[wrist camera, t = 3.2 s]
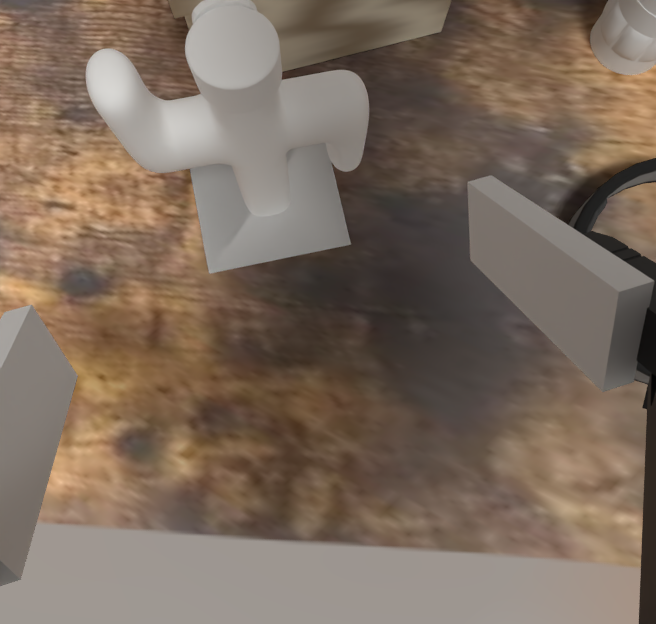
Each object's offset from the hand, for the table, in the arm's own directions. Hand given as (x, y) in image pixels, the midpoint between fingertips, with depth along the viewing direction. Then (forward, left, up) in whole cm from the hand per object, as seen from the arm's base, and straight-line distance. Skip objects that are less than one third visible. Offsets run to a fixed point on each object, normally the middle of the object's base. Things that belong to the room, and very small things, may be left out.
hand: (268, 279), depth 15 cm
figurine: (-1, -7, -14) cm, 15 cm away
